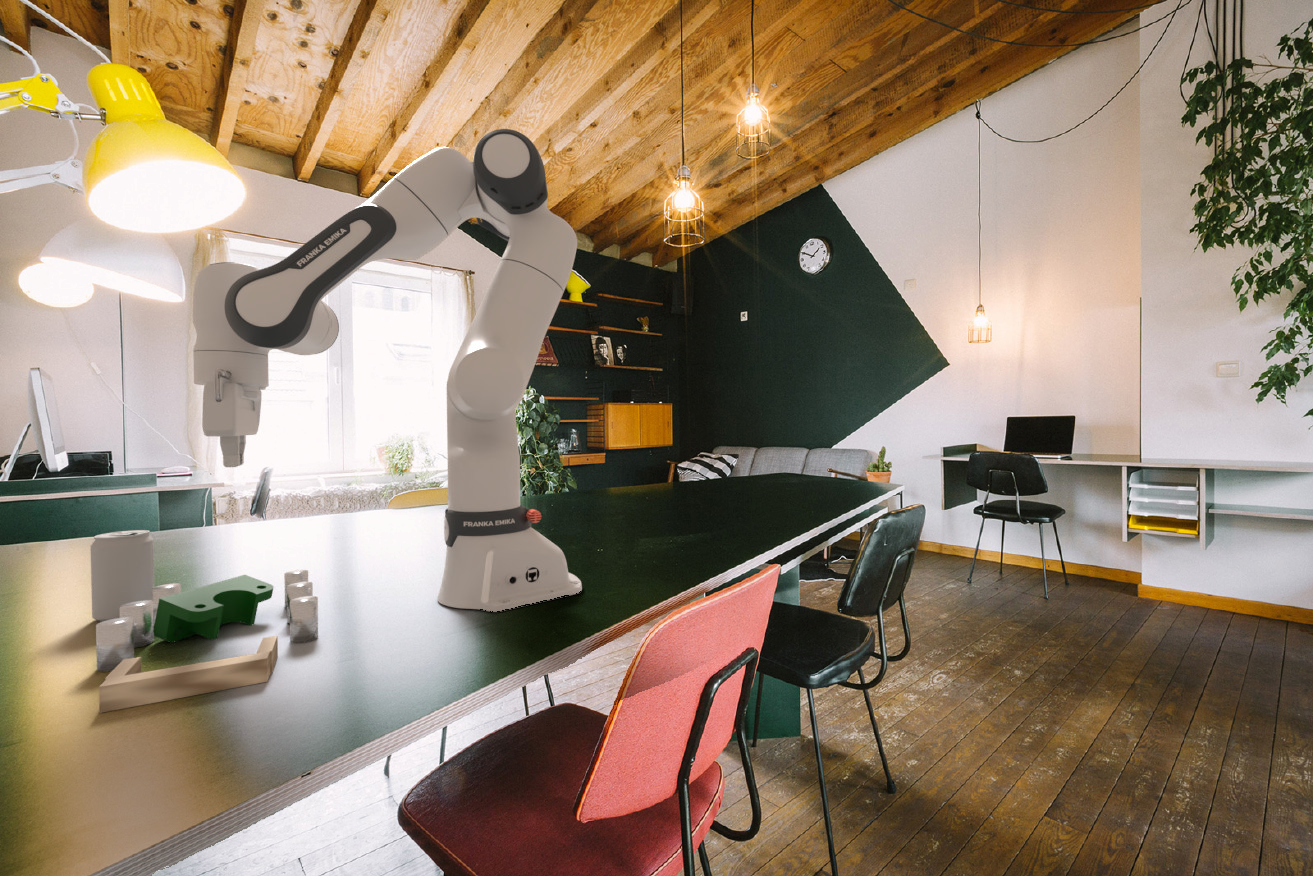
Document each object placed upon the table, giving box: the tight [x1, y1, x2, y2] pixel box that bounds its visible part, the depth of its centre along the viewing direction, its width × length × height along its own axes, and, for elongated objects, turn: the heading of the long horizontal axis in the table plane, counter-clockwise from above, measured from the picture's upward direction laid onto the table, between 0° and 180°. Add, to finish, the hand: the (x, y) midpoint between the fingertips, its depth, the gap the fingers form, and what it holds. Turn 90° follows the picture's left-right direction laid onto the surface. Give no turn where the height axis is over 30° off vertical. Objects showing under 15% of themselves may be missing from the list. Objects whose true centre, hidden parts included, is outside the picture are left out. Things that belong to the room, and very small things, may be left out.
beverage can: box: [90, 529, 155, 623], centre depth 77 cm, size 6×6×12 cm
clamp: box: [153, 574, 274, 643], centre depth 72 cm, size 12×6×9 cm, turn 162°
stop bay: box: [98, 635, 279, 714], centre depth 58 cm, size 13×7×2 cm, turn 119°
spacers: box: [95, 569, 319, 673], centre depth 72 cm, size 21×19×5 cm
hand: (233, 466), depth 81 cm, fingers closed
